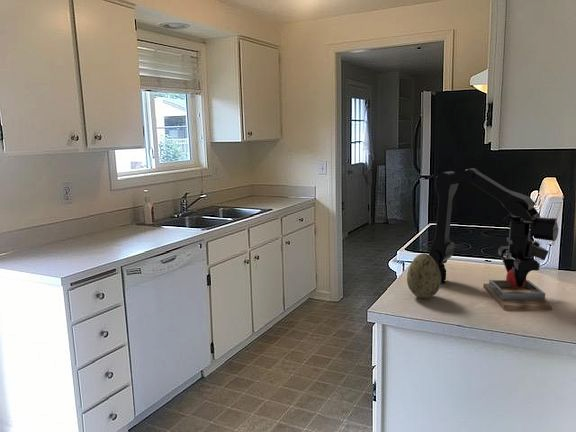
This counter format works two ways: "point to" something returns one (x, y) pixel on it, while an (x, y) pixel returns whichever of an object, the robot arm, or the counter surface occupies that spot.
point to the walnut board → (518, 304)
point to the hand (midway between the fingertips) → (515, 283)
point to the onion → (513, 280)
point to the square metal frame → (516, 296)
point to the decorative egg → (424, 276)
